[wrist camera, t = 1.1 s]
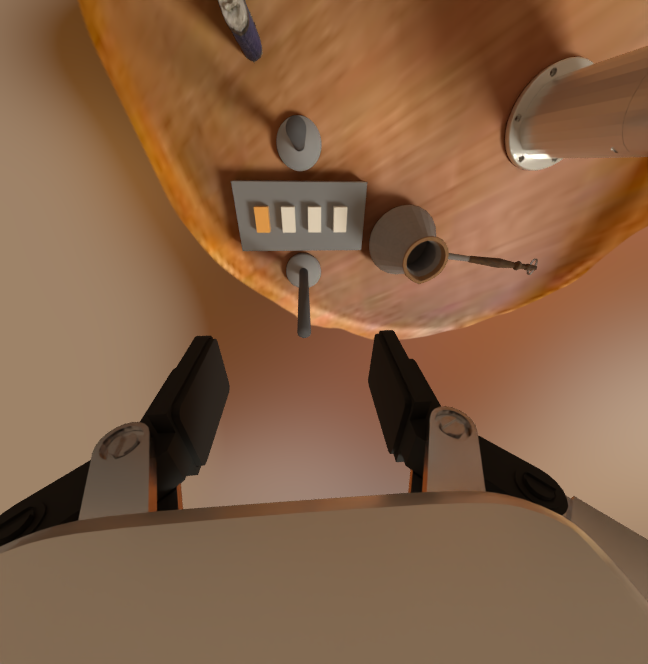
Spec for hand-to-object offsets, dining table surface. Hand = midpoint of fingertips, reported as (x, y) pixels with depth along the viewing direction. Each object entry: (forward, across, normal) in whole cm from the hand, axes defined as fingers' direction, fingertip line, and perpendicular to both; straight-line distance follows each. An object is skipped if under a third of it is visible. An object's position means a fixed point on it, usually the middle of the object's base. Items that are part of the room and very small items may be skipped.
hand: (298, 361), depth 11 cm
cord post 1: (+38, 0, -10) cm, 39 cm away
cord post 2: (+38, 0, +10) cm, 39 cm away
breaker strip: (+38, 0, 0) cm, 38 cm away
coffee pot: (+38, -22, +4) cm, 44 cm away
